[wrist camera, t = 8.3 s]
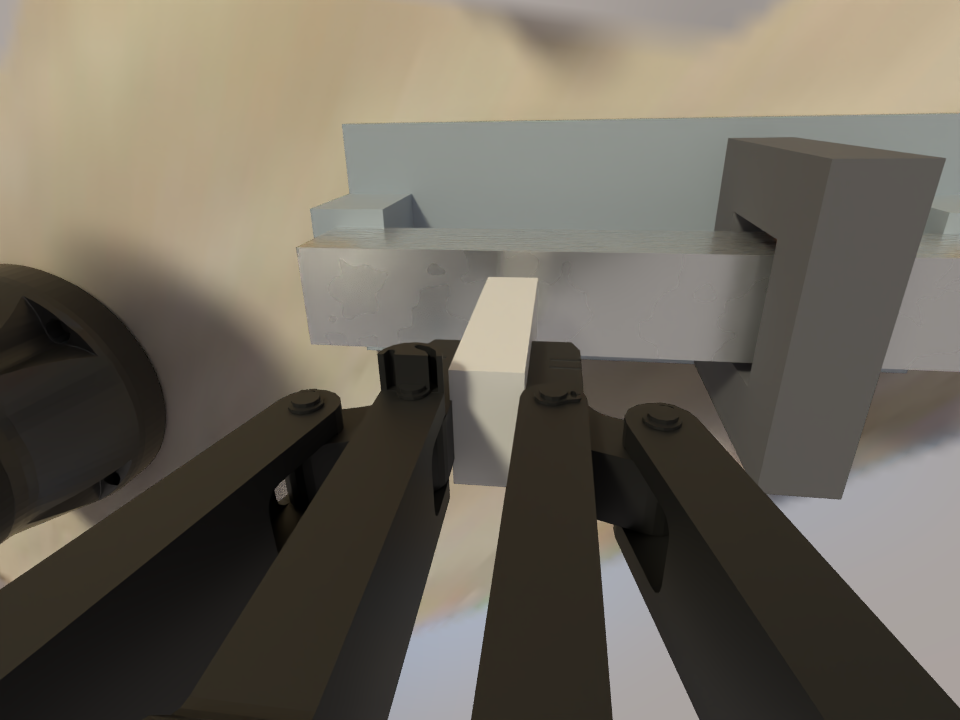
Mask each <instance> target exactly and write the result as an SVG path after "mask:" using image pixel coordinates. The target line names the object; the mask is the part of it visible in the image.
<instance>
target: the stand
mask: <svg viewBox="0 0 960 720" xmlns="http://www.w3.org/2000/svg"><path fill="white" fill-rule="evenodd" d="M342 129H343V138H344V147H345V156H346V165H347V174H348V183H349V192H350V194H347V195H345V196H342V197H340V198H337V199H334V200H332V201H329V202H327V203H324V204H322V205H319V206H317V207H314V208H311V209H310V212H311V220H312V227H313V234H314V238H316V237H318V236H320V235H321V234H323V233H325V232H327V231H329V230H331V229H333V228H335V227H380V228H475V229H570V230H665V231H714V227H715V221H716V214H717V208H718V201H719V195H720V188H721V182H722V175H723V169H724V162H725V156H726V149H727V143H728V138H767V137H797V138H804V139H811V140H818V141H826V142H833V143H840V144H847V145H855V146H862V147H869V148H876V149H884V150H891V151H898V152H905V153H913V154H920V155H927V156H934V157H942V158H946V161H945V164H944V167H943V171H942V174H941V177H940V180H939V184H938V187H937V190H936V193H935V197H934V200H933V203H932V206H931V210H930V213H929V216H928V219H927V222H926V226H925V229H924V232H923V233H949V234H960V113H939V114H881V115H824V116H766V117H709V118H651V119H594V120H536V121H479V122H421V123H363V124H342ZM385 348H387V347H367V350H383V349H385ZM581 359H590V360H613V361H636V362H659V363H682V364H694V361H693V360H669V359H646V358H622V357H599V356H581ZM907 371H908V370H904V369H881V372H889V373H907Z"/></svg>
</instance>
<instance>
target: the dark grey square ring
mask: <svg viewBox="0 0 960 720" xmlns="http://www.w3.org/2000/svg"><path fill="white" fill-rule="evenodd" d="M945 161H946V158H942V157H934V156H927V155H920V154H913V153H905V152H898V151H891V150H884V149H876V148H869V147H862V146H855V145H847V144H840V143H833V142H826V141H818V140H811V139H804V138H797V137H767V138H728V143H727V149H726V156H725V162H724V169H723V175H722V182H721V188H720V195H719V201H718V208H717V214H716V221H715V227H714V231H759V232H766V233H768V234H769V235H771V236H772V237H774V238H776V239H777V244H776V249H775V254H774V259H773V264H772V269H771V274H770V278H769V283H768V288H767V293H766V298H765V303H764V308H763V313H762V318H761V323H760V328H759V333H758V338H757V343H756V348H755V353H754V358H753V363H740V362H716V361H694V364H695V366H696V368H697V370H698V373H699V375H700V377H701V379H702V381H703V383H704V385H705V387H706V389H707V391H708V394H709V396H710V398H711V400H712V402H713V404H714V406H715V408H716V410H717V413H718V415H719V417H720V419H721V421H722V423H723V425H724V427H725V429H726V431H727V434H728V436H729V438H730V440H731V442H732V444H733V446H734V448H735V450H736V452H737V455H738V457H739V459H740V461H741V463H742V465H743V467H744V469H745V471H746V473H747V474H748V475H749V476H750V477H751V478H752V479H753V480H754V482H755V483H756V484H757V485H758V486H759V487H760V488H761V489H762V490H763V491H764V493H765V494H774V495H787V496H801V497H814V498H828V499H841V498H842V495H843V492H844V489H845V485H846V482H847V479H848V476H849V472H850V469H851V466H852V463H853V459H854V456H855V453H856V450H857V446H858V443H859V440H860V437H861V433H862V430H863V427H864V424H865V420H866V417H867V414H868V411H869V408H870V404H871V401H872V398H873V395H874V391H875V388H876V385H877V382H878V378H879V375H880V372H881V369H882V365H883V362H884V359H885V356H886V352H887V349H888V346H889V343H890V339H891V336H892V333H893V330H894V326H895V323H896V320H897V317H898V313H899V310H900V307H901V304H902V300H903V297H904V294H905V291H906V287H907V284H908V281H909V278H910V274H911V271H912V268H913V265H914V261H915V258H916V255H917V252H918V248H919V245H920V242H921V239H922V235H923V232H924V229H925V226H926V222H927V219H928V216H929V213H930V210H931V206H932V203H933V200H934V197H935V193H936V190H937V187H938V184H939V180H940V177H941V174H942V171H943V167H944V164H945Z"/></svg>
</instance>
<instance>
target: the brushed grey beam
mask: <svg viewBox="0 0 960 720" xmlns="http://www.w3.org/2000/svg"><path fill="white" fill-rule="evenodd" d="M776 244H777V239H776V238H774V237H772V236H771V235H769V234H768V233H766V232H759V231H665V230H570V229H475V228H380V227H335V228H333V229H331V230H329V231H327V232H325V233H323V234H321V235H320V236H318V237H316V238H314V239H312V240H310V241H308V242H306V243H304V244H302V245H300V246H298V247H296V250H297V257H298V263H299V270H300V276H301V282H302V289H303V295H304V302H305V308H306V314H307V321H308V327H309V334H310V340H311V344H317V345H341V346H364V347H390V346H392V345H396V344H401V343H410V342H420V343H430V342H431V341H433V340H435V339H443V340H461V339H462V337H463V335H464V332H465V330H466V328H467V325H468V323H469V321H470V318H471V316H472V314H473V311H474V309H475V307H476V304H477V302H478V300H479V297H480V295H481V293H482V290H483V288H484V286H485V283H486V281H487V279H488V277H523V278H538V297H537V339H536V341H549V342H572V343H573V344H574V345H575V346H576V347H577V348H578V349H579V350H580V354H581V356H599V357H622V358H646V359H669V360H693V361H716V362H740V363H753V358H754V353H755V348H756V343H757V338H758V333H759V328H760V323H761V318H762V313H763V308H764V303H765V298H766V293H767V288H768V283H769V278H770V274H771V269H772V264H773V259H774V254H775V249H776ZM882 369H904V370H927V371H951V372H960V234H949V233H923V235H922V239H921V242H920V245H919V248H918V252H917V255H916V258H915V261H914V265H913V268H912V271H911V274H910V278H909V281H908V284H907V287H906V291H905V294H904V297H903V300H902V304H901V307H900V310H899V313H898V317H897V320H896V323H895V326H894V330H893V333H892V336H891V339H890V343H889V346H888V349H887V352H886V356H885V359H884V362H883V365H882Z"/></svg>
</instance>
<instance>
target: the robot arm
mask: <svg viewBox="0 0 960 720" xmlns="http://www.w3.org/2000/svg"><path fill="white" fill-rule="evenodd" d="M537 297H538V278H523V277H488V279H487V281H486V283H485V286H484V288H483V290H482V293H481V295H480V297H479V300H478V302H477V304H476V307H475V309H474V311H473V314H472V316H471V318H470V321H469V323H468V325H467V328H466V330H465V332H464V335H463V337H462V339H461V340H443V339H435V340H433V341H431V342H430V343H420V342H410V343H401V344H396V345H392V346H390V347H387V348H385V349H383V350H381V351H380V352H379V353H378V354H377V355H378V364H379V374H380V383H381V392H380V393H379V395H378V396H377V398H376V400H375V401H374V403H373V404H372V405H370V406H365V407H358V408H350V409H342V407H341V400H340V397H339V396H338V395H337V394H336V393H333V392H330V391H327V390H317V389H309V390H308V389H307V390H301V391H299V392H297V393H293V394H290V395H288V396H286V397H284V398H282V399H280V400H278V401H277V402H275V403H274V404H273V405H271V406H270V407H268V408H267V409H265V410H264V411H262V412H261V413H259V414H258V415H256V416H255V417H253V418H252V419H250V420H249V421H248V422H246V423H245V424H243V425H242V426H240V427H239V428H237V429H236V430H234V431H233V432H231V433H230V434H228V435H227V436H225V437H224V438H223V439H221V440H220V441H218V442H217V443H215V444H214V445H212V446H211V447H209V448H208V449H206V450H205V451H203V452H202V453H200V454H199V455H197V456H196V457H195V458H193V459H192V460H190V461H189V462H187V463H186V464H184V465H183V466H181V467H180V468H178V469H177V470H175V471H174V472H172V473H171V474H170V475H168V476H167V477H165V478H164V479H162V480H161V481H159V482H158V483H156V484H155V485H153V486H152V487H150V488H149V489H147V490H146V491H145V492H143V493H142V494H140V495H139V496H137V497H136V498H134V499H133V500H131V501H130V502H128V503H127V504H125V505H124V506H122V507H121V508H119V509H118V510H117V511H115V512H114V513H112V514H111V515H109V516H108V517H106V518H105V519H103V520H102V521H100V522H99V523H97V524H96V525H94V526H93V527H92V528H90V529H89V530H87V531H86V532H84V533H83V534H81V535H80V536H78V537H77V538H75V539H74V540H72V541H71V542H69V543H68V544H67V545H65V546H64V547H62V548H61V549H59V550H58V551H56V552H55V553H53V554H52V555H50V556H49V557H47V558H46V559H44V560H43V561H42V562H40V563H39V564H37V565H36V566H34V567H33V568H31V569H30V570H28V571H27V572H25V573H24V574H22V575H21V576H19V577H18V578H16V579H15V580H14V581H12V582H11V583H9V584H8V585H6V586H5V587H3V588H2V589H0V720H387V719H388V716H389V712H390V709H391V705H392V702H393V698H394V694H395V691H396V687H397V684H398V680H399V677H400V673H401V669H402V666H403V663H404V659H405V655H406V652H407V648H408V645H409V641H410V638H411V634H412V631H413V627H414V624H415V620H416V616H417V613H418V609H419V606H420V602H421V599H422V595H423V592H424V588H425V584H426V581H427V577H428V574H429V570H430V567H431V563H432V560H433V556H434V552H435V549H436V545H437V542H438V538H439V535H440V531H441V528H442V524H443V520H444V517H445V513H446V510H447V506H448V503H449V499H450V489H449V476H450V473H451V469H452V466H453V478H454V484H468V485H483V486H498V487H506V492H505V498H504V505H503V512H502V518H501V525H500V531H499V538H498V545H497V551H496V558H495V565H494V571H493V578H492V584H491V591H490V598H489V604H488V611H487V618H486V625H485V631H484V637H483V644H482V652H481V658H480V665H479V671H478V678H477V684H476V690H475V697H474V704H473V710H472V718H471V720H613V719H612V706H611V694H610V681H609V668H608V656H607V643H606V630H605V618H604V606H603V594H602V581H601V567H600V555H599V542H598V530H597V520H600V521H604V522H607V523H610V524H613V525H614V527H613V529H614V534H615V538H616V540H617V543H618V545H619V547H620V549H621V551H622V553H623V555H624V558H625V560H626V562H627V564H628V566H629V568H630V570H631V573H632V575H633V577H634V579H635V581H636V584H637V586H638V588H639V590H640V592H641V594H642V596H643V599H644V601H645V603H646V605H647V607H648V609H649V612H650V614H651V616H652V618H653V620H654V622H655V624H656V627H657V629H658V631H659V633H660V635H661V638H662V640H663V642H664V644H665V646H666V648H667V650H668V653H669V655H670V657H671V659H672V661H673V663H674V665H675V668H676V670H677V672H678V674H679V676H680V679H681V681H682V683H683V685H684V687H685V689H686V691H687V694H688V696H689V698H690V700H691V702H692V704H693V707H694V709H695V711H696V713H697V715H698V717H699V720H960V708H959V707H958V706H957V705H956V703H954V701H953V700H952V699H951V698H950V697H949V696H948V695H947V694H946V692H945V691H944V690H943V689H942V688H941V687H940V686H939V685H938V684H937V683H936V681H935V680H934V679H933V678H932V677H931V676H930V675H929V674H928V673H927V671H926V670H925V669H924V668H923V667H922V666H921V665H920V664H919V663H918V662H917V660H915V658H914V657H913V656H912V655H911V654H910V653H909V652H908V651H907V649H906V648H905V647H904V646H903V645H902V644H901V643H900V642H899V641H898V639H897V638H896V637H895V636H894V635H893V634H892V633H891V632H890V631H889V630H888V629H887V627H886V626H885V625H884V624H883V623H882V622H881V621H880V620H879V618H878V617H877V616H876V615H875V614H874V613H873V612H872V611H871V610H870V609H869V607H868V606H867V605H866V604H865V603H864V602H863V601H862V600H861V599H860V597H859V596H858V595H857V594H856V593H855V592H854V591H853V590H852V589H851V588H850V586H849V585H848V584H847V583H846V582H845V581H844V580H843V579H842V578H841V577H840V576H839V574H838V573H837V572H836V571H835V570H834V569H833V568H832V567H831V565H830V564H829V563H828V562H827V561H826V560H825V559H824V558H823V557H822V556H821V554H820V553H819V552H818V551H817V550H816V549H815V548H814V547H813V546H812V544H811V543H810V542H809V541H808V540H807V539H806V538H805V537H804V536H803V535H802V534H801V532H800V531H799V530H798V529H797V528H796V527H795V526H794V525H793V524H792V523H791V521H790V520H789V519H788V518H787V517H786V516H785V515H784V514H783V512H782V511H781V510H780V509H779V508H778V507H777V506H776V505H775V504H774V503H773V501H772V500H771V499H770V498H769V497H768V496H767V495H766V494H765V493H764V491H763V490H762V489H761V488H760V487H759V486H758V485H757V484H756V483H755V482H754V480H753V479H752V478H751V477H750V476H749V475H748V474H747V473H746V472H745V471H744V469H743V468H742V467H741V466H740V465H739V464H738V463H737V462H736V461H735V459H734V458H733V457H732V456H731V455H730V454H729V453H728V452H727V451H726V450H725V448H724V447H723V446H722V445H721V444H720V443H719V442H718V441H717V440H716V438H715V437H714V436H713V435H712V434H711V433H710V432H709V431H708V430H707V429H706V427H705V426H704V425H703V424H702V423H701V422H700V421H699V420H698V419H697V418H696V417H695V416H694V415H692V414H691V413H690V412H688V411H686V410H683V409H681V408H679V407H676V406H675V405H671V404H668V405H667V404H666V403H647V404H641V405H636V406H634V407H633V408H631V409H629V410H628V411H627V413H626V415H625V418H624V420H621V419H617V418H613V417H609V416H606V415H603V414H601V413H599V412H596V411H595V410H593V409H592V408H590V407H589V406H588V403H587V398H586V396H585V394H584V393H583V381H582V370H581V354H580V350H579V349H578V348H577V347H576V346H575V345H574V344H573V343H572V342H549V341H536V339H537ZM165 422H166V417H165V405H164V399H163V395H162V391H161V388H160V385H159V382H158V379H157V377H156V374H155V372H154V370H153V368H152V366H151V364H150V362H149V360H148V358H147V356H146V355H145V353H144V351H143V350H142V348H141V347H140V345H139V344H138V343H137V341H136V340H135V338H134V337H133V336H132V335H131V333H130V332H129V331H128V330H127V329H126V327H125V326H124V325H123V324H122V323H121V322H120V321H119V320H118V319H117V318H116V317H115V316H114V315H113V314H112V313H111V312H110V311H109V310H108V309H107V308H106V307H104V306H103V305H102V304H101V303H100V302H98V301H97V300H96V299H94V298H93V297H92V296H90V295H89V294H87V293H86V292H84V291H83V290H81V289H80V288H78V287H76V286H75V285H73V284H71V283H69V282H67V281H65V280H64V279H62V278H59V277H57V276H55V275H52V274H50V273H47V272H44V271H41V270H38V269H35V268H31V267H26V266H21V265H13V264H0V544H1V543H3V542H4V541H5V540H7V539H8V538H9V537H11V536H13V535H14V534H17V533H19V532H22V531H24V530H27V529H29V528H31V527H34V526H36V525H39V524H41V523H44V522H46V521H49V520H51V519H54V518H56V517H59V516H61V515H64V514H66V513H68V512H71V511H73V510H76V509H78V508H81V507H83V506H86V505H88V504H91V503H93V502H96V501H98V500H101V499H103V498H105V497H107V496H109V495H111V494H113V493H114V492H116V491H118V490H119V489H121V488H122V487H123V486H125V485H126V484H127V483H128V482H129V481H131V480H132V479H133V478H134V477H135V476H136V475H138V474H139V473H140V472H141V471H142V470H144V469H145V468H146V467H147V466H148V465H149V464H150V463H151V462H152V460H153V459H154V458H155V456H156V455H157V453H158V451H159V449H160V446H161V444H162V441H163V437H164V432H165ZM284 479H285V481H286V486H287V491H288V494H287V495H286V496H285V497H284V498H283V499H282V500H280V501H279V502H278V501H277V499H276V496H275V491H274V490H275V488H276V487H277V486H278V484H279V483H280V482H281V481H283V480H284Z"/></svg>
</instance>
